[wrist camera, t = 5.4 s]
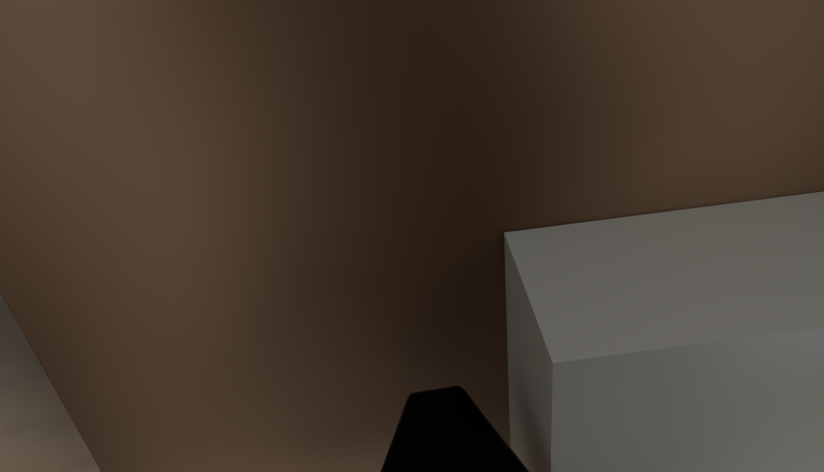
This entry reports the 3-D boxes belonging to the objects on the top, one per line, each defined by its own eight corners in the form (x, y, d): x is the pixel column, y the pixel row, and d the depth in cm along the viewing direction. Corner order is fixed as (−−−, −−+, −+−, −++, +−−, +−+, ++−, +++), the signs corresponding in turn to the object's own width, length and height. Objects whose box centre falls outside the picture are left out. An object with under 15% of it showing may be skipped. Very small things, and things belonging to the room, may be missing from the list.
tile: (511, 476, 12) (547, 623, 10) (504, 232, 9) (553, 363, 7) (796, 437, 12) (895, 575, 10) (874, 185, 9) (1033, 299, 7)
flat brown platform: (236, 571, 17) (220, 682, 15) (-117, -200, 8) (-280, -202, 6) (680, 505, 17) (729, 605, 15) (800, -333, 8) (960, -383, 6)
